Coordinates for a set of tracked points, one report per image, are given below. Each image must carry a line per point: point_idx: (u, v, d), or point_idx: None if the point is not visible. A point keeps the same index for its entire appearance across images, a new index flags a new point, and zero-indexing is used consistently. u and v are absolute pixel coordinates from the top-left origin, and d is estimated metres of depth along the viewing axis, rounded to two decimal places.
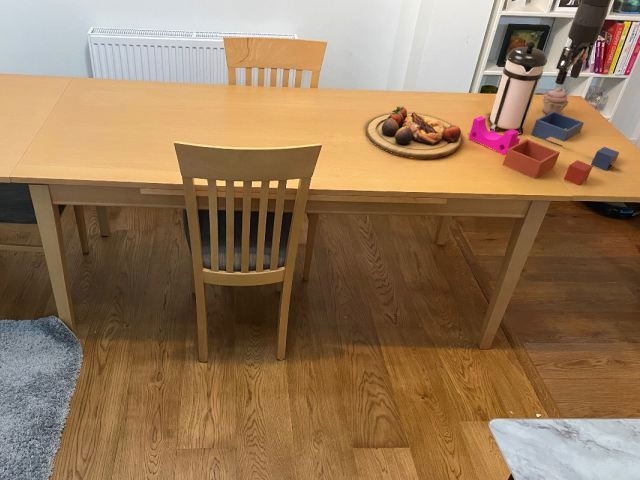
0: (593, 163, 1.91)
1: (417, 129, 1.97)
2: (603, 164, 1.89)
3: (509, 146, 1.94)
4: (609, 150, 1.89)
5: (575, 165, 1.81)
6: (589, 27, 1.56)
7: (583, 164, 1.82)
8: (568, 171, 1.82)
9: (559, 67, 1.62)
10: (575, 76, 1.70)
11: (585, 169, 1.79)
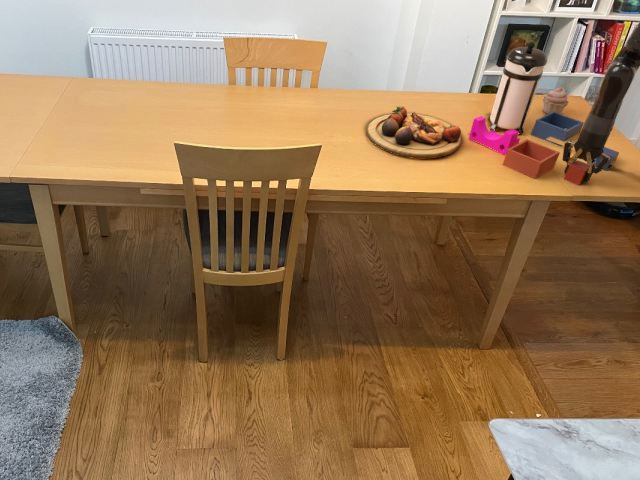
0: None
1: (417, 129, 1.97)
2: None
3: (509, 146, 1.94)
4: (609, 150, 1.89)
5: (575, 165, 1.81)
6: (582, 128, 1.74)
7: (583, 164, 1.82)
8: (568, 171, 1.82)
9: None
10: None
11: (585, 169, 1.79)
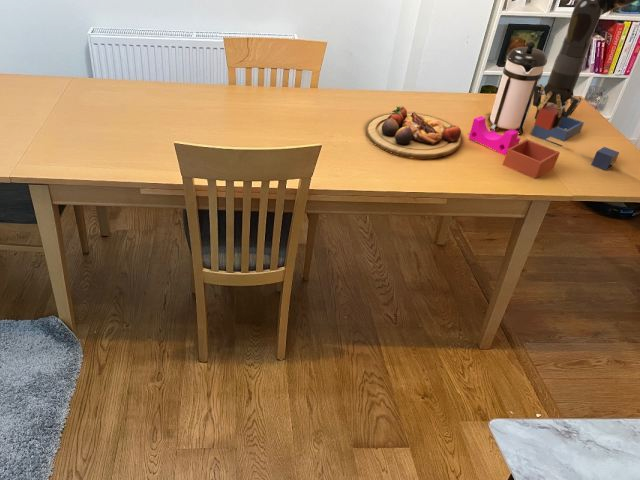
0: (593, 163, 1.91)
1: (417, 129, 1.97)
2: (603, 164, 1.89)
3: (509, 146, 1.94)
4: (609, 150, 1.89)
5: (545, 109, 1.77)
6: (552, 69, 1.70)
7: (554, 109, 1.78)
8: (538, 116, 1.79)
9: None
10: None
11: (555, 113, 1.75)
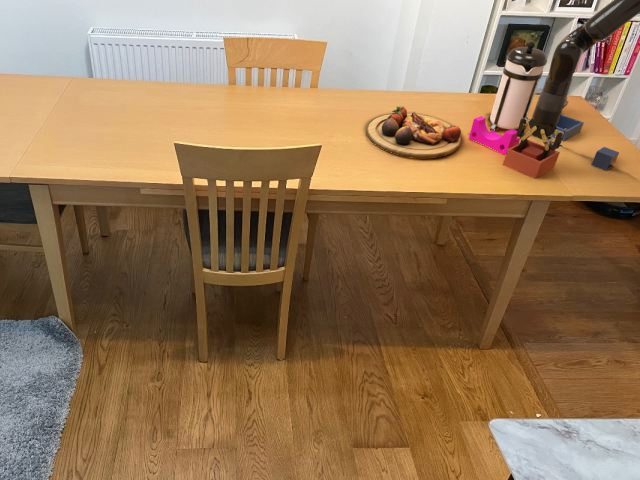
0: (593, 163, 1.91)
1: (417, 129, 1.97)
2: (603, 164, 1.89)
3: (509, 146, 1.94)
4: (609, 150, 1.89)
5: (528, 150, 1.87)
6: (536, 105, 1.78)
7: (536, 149, 1.87)
8: None
9: None
10: None
11: (537, 154, 1.85)
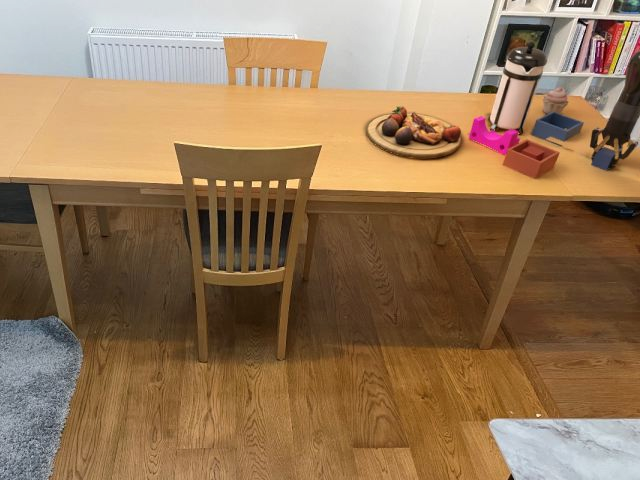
0: (593, 163, 1.91)
1: (417, 129, 1.97)
2: (603, 164, 1.89)
3: (509, 146, 1.94)
4: (609, 150, 1.89)
5: (528, 150, 1.87)
6: (610, 115, 1.82)
7: (536, 149, 1.87)
8: None
9: None
10: None
11: (537, 154, 1.85)
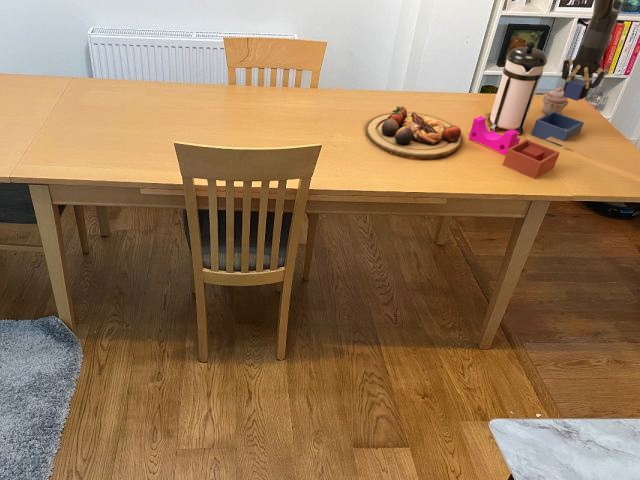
0: (565, 94, 1.96)
1: (417, 129, 1.97)
2: (574, 94, 1.94)
3: (509, 146, 1.94)
4: (580, 81, 1.94)
5: (528, 150, 1.87)
6: None
7: (536, 149, 1.87)
8: None
9: None
10: None
11: (537, 154, 1.85)
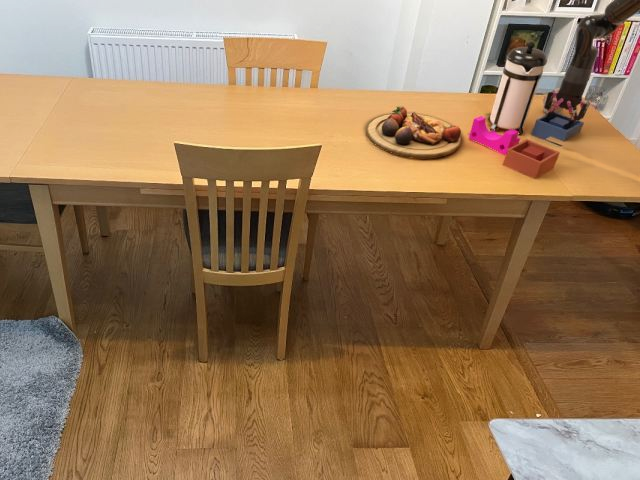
0: None
1: (417, 129, 1.97)
2: None
3: (509, 146, 1.94)
4: (561, 120, 2.05)
5: (528, 150, 1.87)
6: (563, 79, 1.96)
7: (536, 149, 1.87)
8: None
9: None
10: None
11: (537, 154, 1.85)
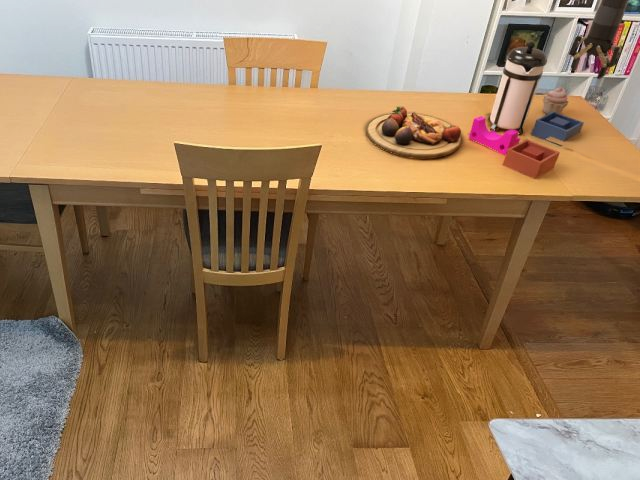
0: None
1: (417, 129, 1.97)
2: None
3: (509, 146, 1.94)
4: (561, 120, 2.05)
5: (528, 150, 1.87)
6: None
7: (536, 149, 1.87)
8: None
9: None
10: None
11: (537, 154, 1.85)
